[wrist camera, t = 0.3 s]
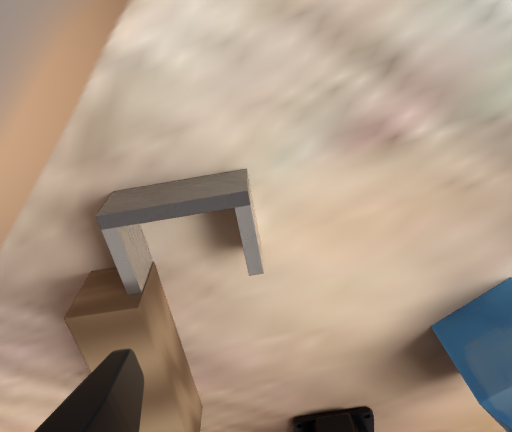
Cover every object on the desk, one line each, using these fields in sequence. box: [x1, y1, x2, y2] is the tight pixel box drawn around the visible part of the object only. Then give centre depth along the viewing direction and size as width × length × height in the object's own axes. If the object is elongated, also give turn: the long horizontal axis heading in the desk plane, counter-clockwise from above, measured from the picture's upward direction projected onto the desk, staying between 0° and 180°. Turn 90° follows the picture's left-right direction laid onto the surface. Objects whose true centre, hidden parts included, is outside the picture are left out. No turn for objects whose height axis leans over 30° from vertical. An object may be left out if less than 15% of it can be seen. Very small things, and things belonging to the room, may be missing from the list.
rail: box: [64, 262, 202, 432], centre depth 25 cm, size 14×4×4 cm, turn 9°
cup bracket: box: [96, 169, 263, 295], centre depth 21 cm, size 5×8×3 cm, turn 99°
